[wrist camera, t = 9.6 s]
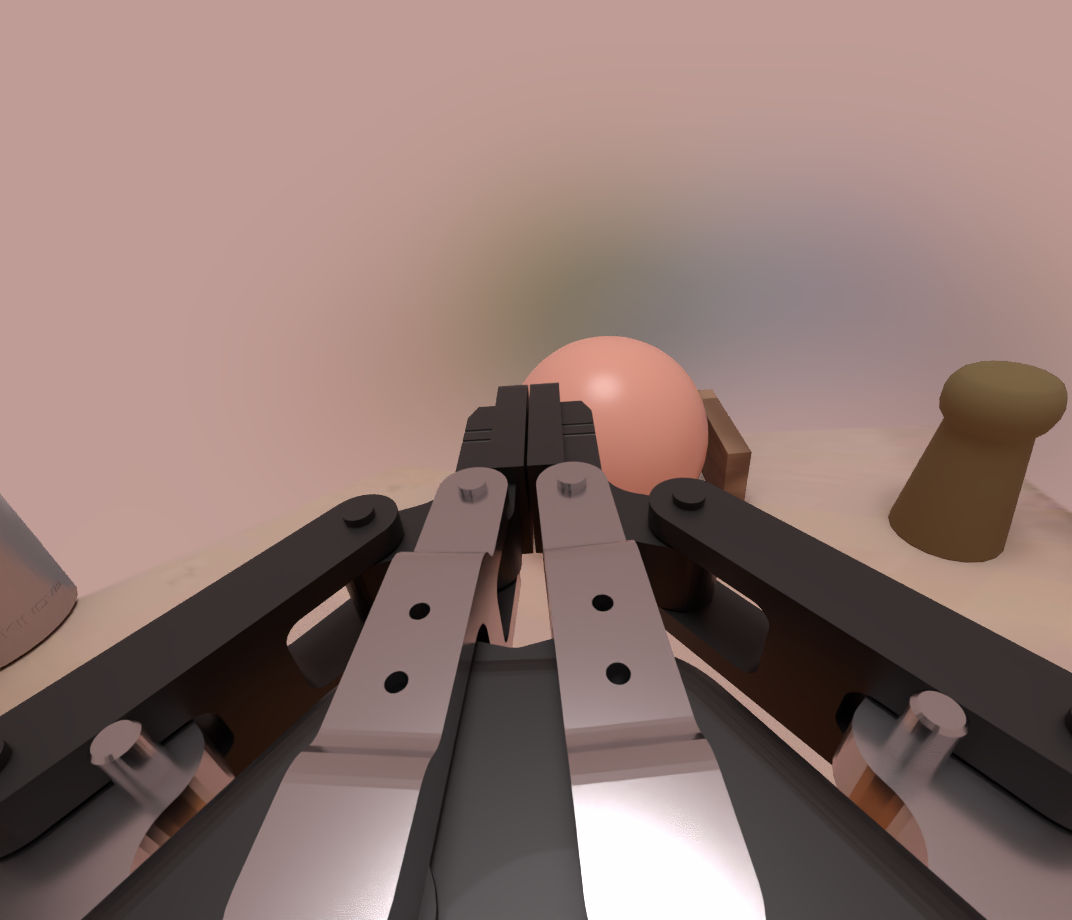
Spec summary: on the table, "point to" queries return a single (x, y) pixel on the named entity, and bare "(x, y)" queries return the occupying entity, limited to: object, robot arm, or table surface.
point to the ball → (633, 408)
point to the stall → (724, 449)
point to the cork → (977, 460)
